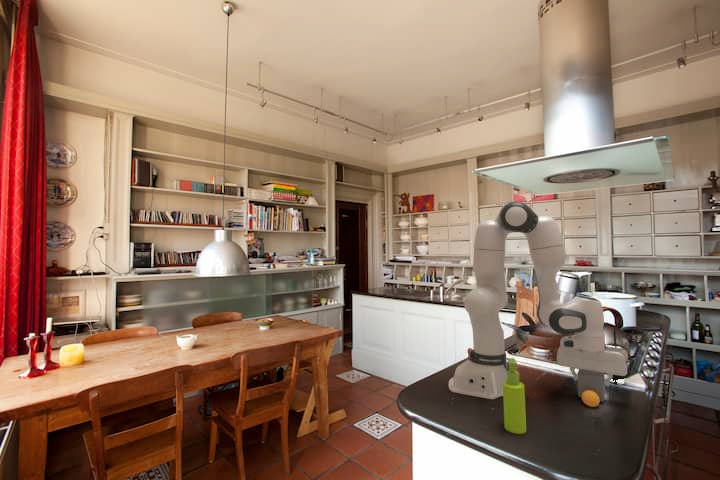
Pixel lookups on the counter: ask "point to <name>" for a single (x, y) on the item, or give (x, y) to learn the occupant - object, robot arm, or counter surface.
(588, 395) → the ball
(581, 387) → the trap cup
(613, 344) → the drinking cup
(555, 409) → the counter surface
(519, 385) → the soap dispenser
